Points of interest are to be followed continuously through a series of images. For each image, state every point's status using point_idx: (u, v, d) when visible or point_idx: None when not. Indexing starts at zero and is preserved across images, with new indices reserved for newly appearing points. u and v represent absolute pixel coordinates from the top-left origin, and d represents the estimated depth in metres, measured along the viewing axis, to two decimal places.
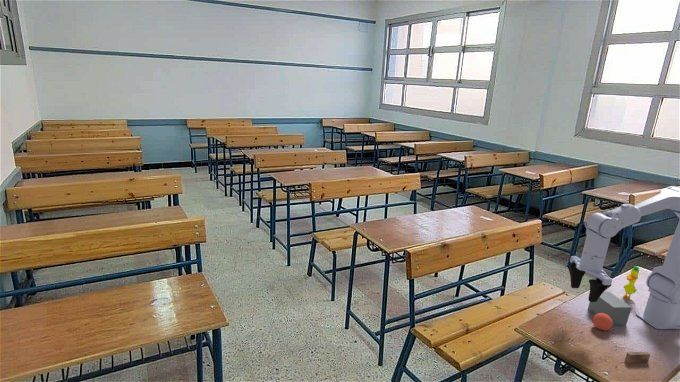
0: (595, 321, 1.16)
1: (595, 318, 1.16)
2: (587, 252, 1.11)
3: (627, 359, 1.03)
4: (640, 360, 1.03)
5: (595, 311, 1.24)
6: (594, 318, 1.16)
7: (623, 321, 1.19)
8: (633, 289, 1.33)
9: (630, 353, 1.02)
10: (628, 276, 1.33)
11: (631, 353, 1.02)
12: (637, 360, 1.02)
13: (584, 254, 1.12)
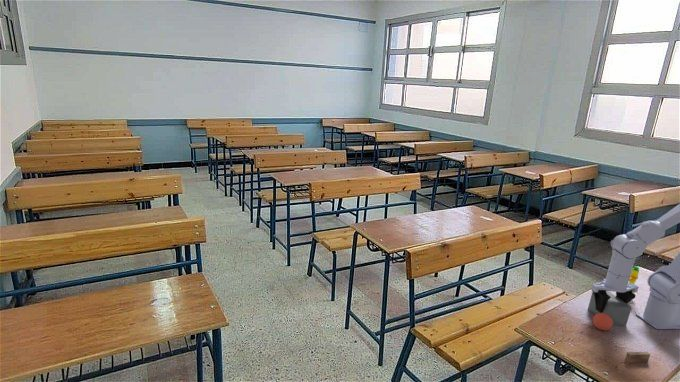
0: (595, 321, 1.16)
1: (595, 318, 1.16)
2: (611, 271, 1.18)
3: (627, 359, 1.03)
4: (640, 360, 1.03)
5: (595, 311, 1.24)
6: (594, 318, 1.16)
7: (623, 321, 1.19)
8: None
9: (630, 353, 1.02)
10: None
11: (631, 353, 1.02)
12: (637, 360, 1.02)
13: None
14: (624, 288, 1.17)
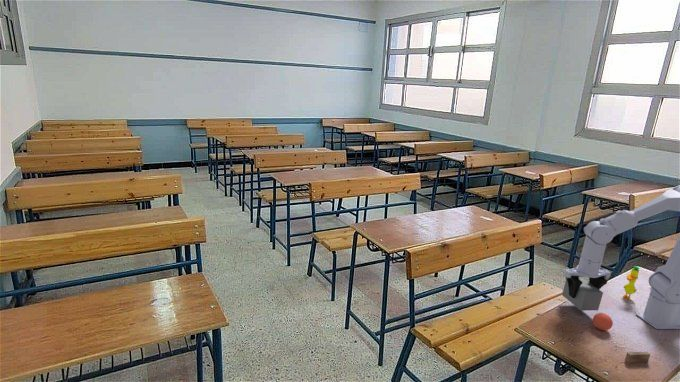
0: (595, 321, 1.16)
1: (595, 318, 1.16)
2: (582, 256, 1.21)
3: (627, 359, 1.03)
4: (640, 360, 1.03)
5: (569, 297, 1.26)
6: (594, 318, 1.16)
7: (595, 306, 1.21)
8: (633, 289, 1.33)
9: (630, 353, 1.02)
10: (628, 276, 1.33)
11: (631, 353, 1.02)
12: (637, 360, 1.02)
13: None
14: (596, 273, 1.19)
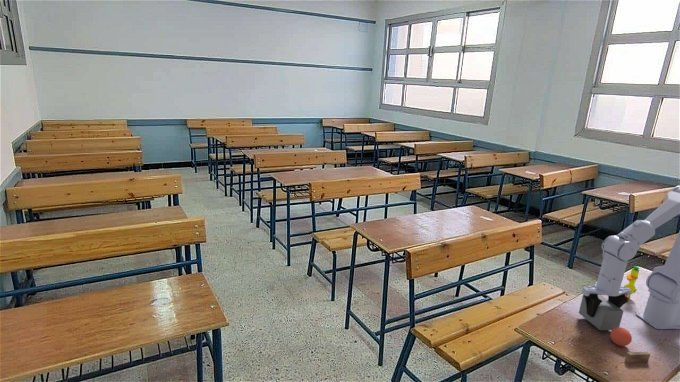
0: (612, 336, 1.09)
1: (614, 339, 1.09)
2: (605, 275, 1.12)
3: (627, 359, 1.03)
4: (640, 360, 1.03)
5: (586, 315, 1.18)
6: (615, 339, 1.08)
7: (615, 326, 1.13)
8: (633, 289, 1.33)
9: (630, 353, 1.02)
10: (628, 276, 1.33)
11: (631, 353, 1.02)
12: (637, 360, 1.02)
13: None
14: (616, 292, 1.12)
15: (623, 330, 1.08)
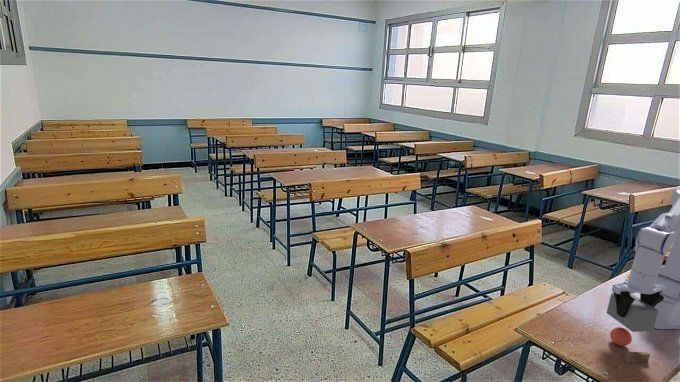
0: (612, 336, 1.09)
1: (614, 340, 1.09)
2: (643, 272, 1.00)
3: (627, 359, 1.03)
4: (640, 360, 1.03)
5: (615, 315, 1.08)
6: (615, 339, 1.08)
7: (649, 327, 1.02)
8: None
9: (630, 353, 1.02)
10: (628, 276, 1.33)
11: (631, 353, 1.02)
12: (637, 360, 1.02)
13: None
14: (651, 289, 1.01)
15: (623, 330, 1.08)
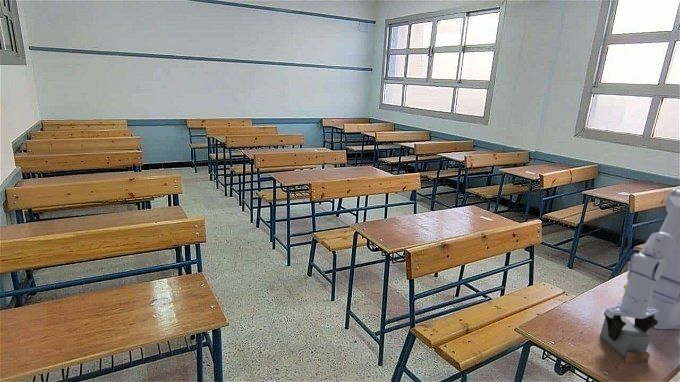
0: None
1: None
2: (636, 297, 1.02)
3: (627, 359, 1.03)
4: (640, 360, 1.03)
5: (608, 339, 1.10)
6: None
7: None
8: None
9: (630, 353, 1.02)
10: None
11: (631, 353, 1.02)
12: (637, 360, 1.02)
13: None
14: (643, 314, 1.03)
15: None
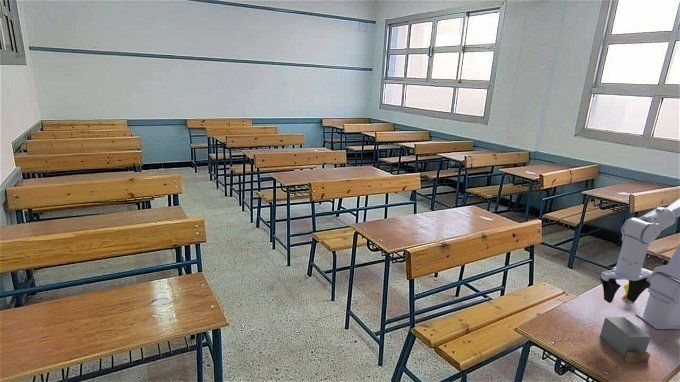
0: None
1: None
2: (626, 259, 1.08)
3: (627, 359, 1.03)
4: (640, 360, 1.03)
5: (608, 339, 1.10)
6: None
7: None
8: None
9: (630, 353, 1.02)
10: None
11: (631, 353, 1.02)
12: (637, 360, 1.02)
13: None
14: (637, 276, 1.08)
15: None
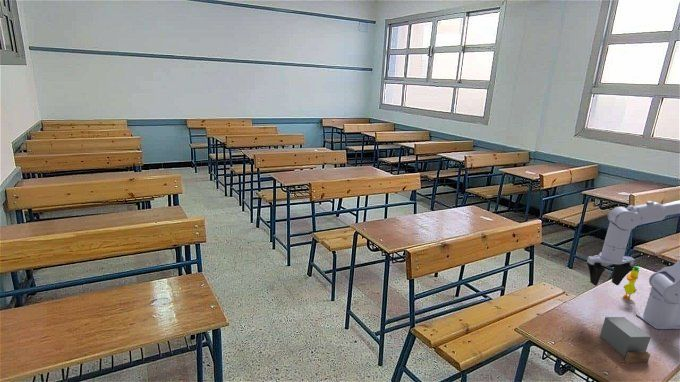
0: None
1: None
2: (606, 242, 1.19)
3: (627, 359, 1.03)
4: (640, 360, 1.03)
5: (608, 339, 1.10)
6: None
7: None
8: (633, 289, 1.33)
9: (630, 353, 1.02)
10: (628, 276, 1.33)
11: (631, 353, 1.02)
12: (637, 360, 1.02)
13: None
14: (620, 260, 1.18)
15: None
